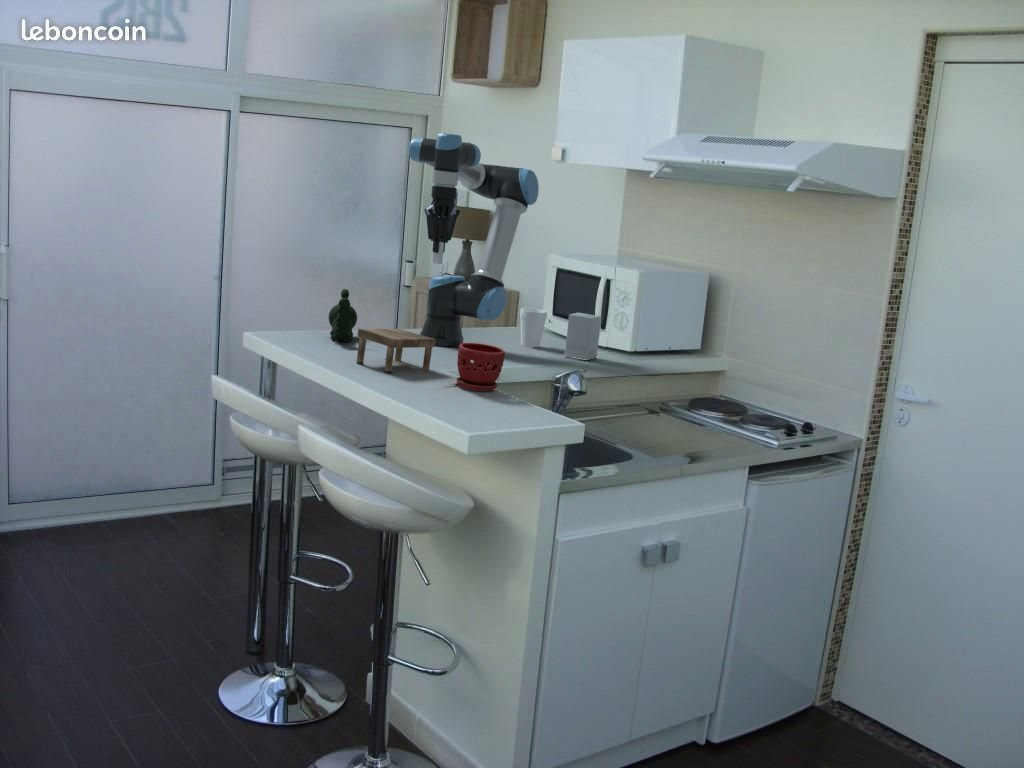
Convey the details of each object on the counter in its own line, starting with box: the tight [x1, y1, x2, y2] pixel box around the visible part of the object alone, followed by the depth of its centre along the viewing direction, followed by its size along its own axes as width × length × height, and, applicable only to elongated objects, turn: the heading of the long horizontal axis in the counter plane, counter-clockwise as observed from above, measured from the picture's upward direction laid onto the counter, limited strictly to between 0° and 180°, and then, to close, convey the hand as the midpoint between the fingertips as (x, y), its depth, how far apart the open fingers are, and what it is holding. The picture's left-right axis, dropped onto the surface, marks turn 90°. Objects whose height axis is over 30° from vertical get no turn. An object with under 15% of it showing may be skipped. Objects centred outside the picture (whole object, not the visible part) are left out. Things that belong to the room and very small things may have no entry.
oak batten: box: [383, 358, 430, 373], centre depth 328 cm, size 2×19×1 cm, turn 47°
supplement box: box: [564, 312, 602, 361], centre depth 378 cm, size 9×9×15 cm
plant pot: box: [456, 342, 506, 392], centre depth 311 cm, size 13×13×12 cm
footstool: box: [356, 328, 436, 374], centre depth 323 cm, size 10×16×16 cm
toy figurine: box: [327, 288, 358, 343], centre depth 363 cm, size 9×19×25 cm
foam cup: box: [519, 307, 548, 348], centre depth 389 cm, size 10×9×13 cm
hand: (437, 263), depth 339 cm, fingers closed
